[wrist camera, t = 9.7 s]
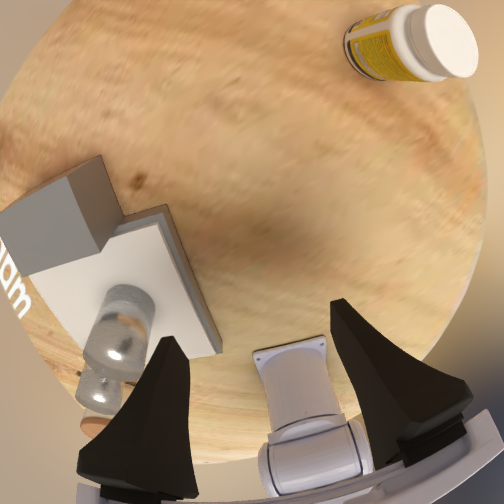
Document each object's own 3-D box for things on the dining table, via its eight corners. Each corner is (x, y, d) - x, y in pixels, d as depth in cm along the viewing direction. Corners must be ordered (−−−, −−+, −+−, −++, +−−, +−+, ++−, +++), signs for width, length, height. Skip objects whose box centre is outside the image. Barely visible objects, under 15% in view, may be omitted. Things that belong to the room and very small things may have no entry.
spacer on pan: (137, 366, 25) (128, 415, 20) (104, 368, 25) (93, 414, 20) (115, 339, 23) (101, 392, 17) (82, 343, 23) (66, 391, 18)
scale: (222, 341, 27) (223, 382, 22) (101, 357, 27) (91, 391, 23) (144, 137, 16) (119, 152, 12) (5, 205, 16) (-28, 232, 12)
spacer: (164, 319, 22) (154, 380, 16) (121, 326, 22) (105, 382, 17) (141, 279, 19) (121, 340, 14) (96, 289, 19) (71, 346, 14)
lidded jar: (111, 407, 34) (103, 457, 26) (78, 370, 28) (61, 429, 20) (173, 410, 35) (171, 465, 27) (147, 372, 29) (139, 442, 21)
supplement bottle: (392, 90, 15) (477, 103, 8) (336, 66, 14) (413, 57, 7) (402, 38, 13) (484, 31, 6) (348, 11, 12) (421, -21, 5)
